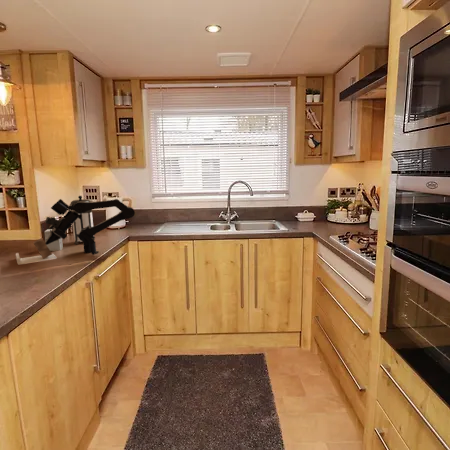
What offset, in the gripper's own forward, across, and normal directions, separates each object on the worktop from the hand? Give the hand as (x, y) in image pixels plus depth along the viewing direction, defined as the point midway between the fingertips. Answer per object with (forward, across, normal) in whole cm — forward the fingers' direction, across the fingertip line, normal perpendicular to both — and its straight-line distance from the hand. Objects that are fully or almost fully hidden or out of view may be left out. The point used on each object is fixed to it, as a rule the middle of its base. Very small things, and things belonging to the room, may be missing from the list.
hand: (46, 244), depth 166 cm
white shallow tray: (+9, 0, +2) cm, 10 cm away
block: (+4, 0, +4) cm, 6 cm away
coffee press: (-12, -30, +23) cm, 40 cm away
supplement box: (+2, -17, +10) cm, 20 cm away
